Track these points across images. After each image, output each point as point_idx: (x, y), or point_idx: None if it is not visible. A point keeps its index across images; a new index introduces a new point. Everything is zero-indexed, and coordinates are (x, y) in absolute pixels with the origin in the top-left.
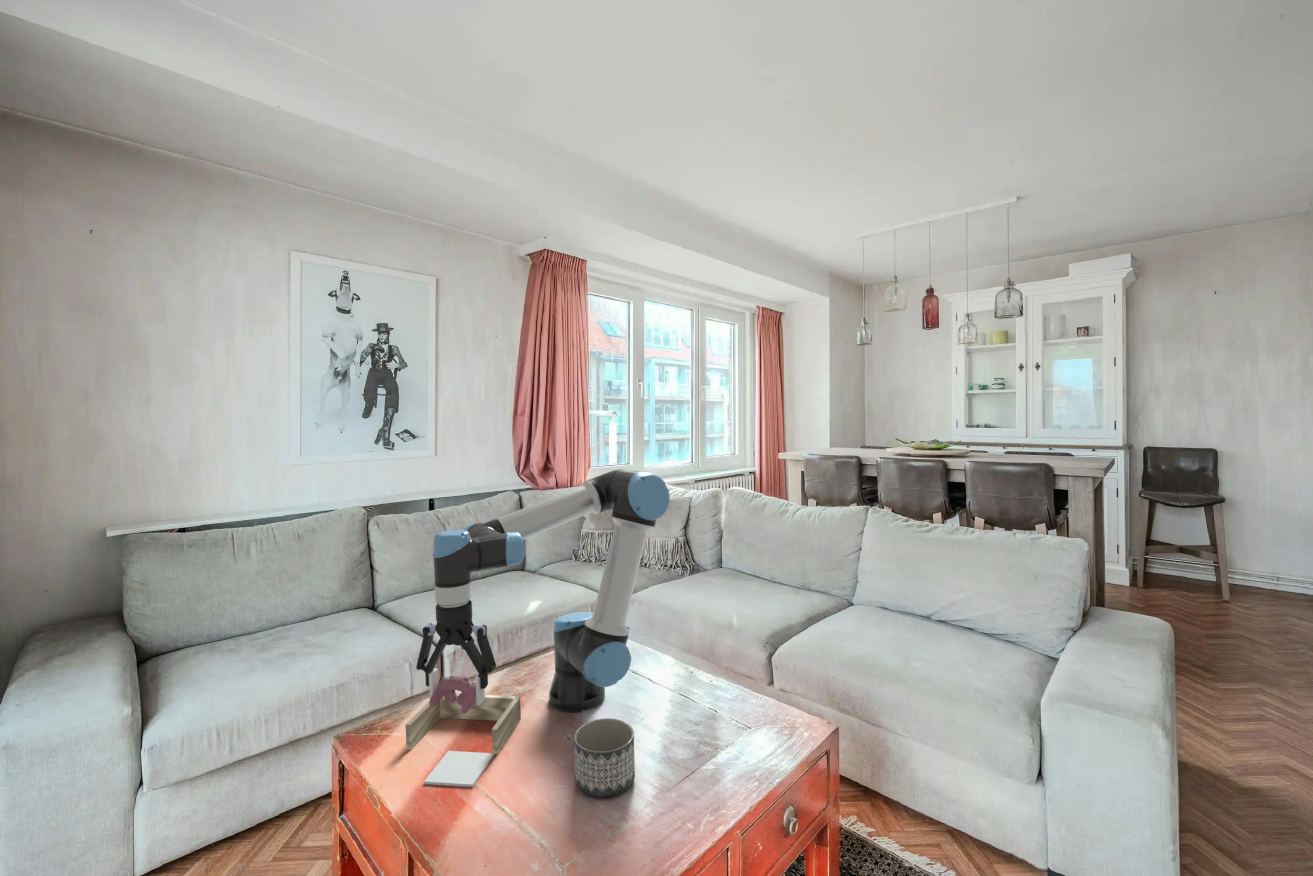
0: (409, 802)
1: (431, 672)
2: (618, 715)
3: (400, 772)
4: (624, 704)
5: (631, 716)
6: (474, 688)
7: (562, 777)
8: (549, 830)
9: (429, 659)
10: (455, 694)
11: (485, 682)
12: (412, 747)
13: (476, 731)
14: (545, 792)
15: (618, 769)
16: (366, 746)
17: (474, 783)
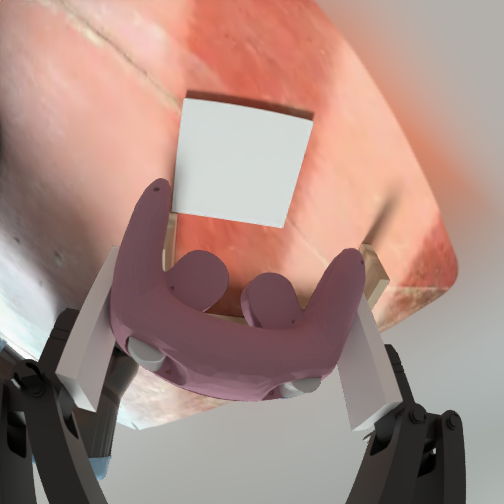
0: (328, 61)
1: (387, 411)
2: (23, 300)
3: (372, 172)
4: (31, 321)
5: (9, 295)
6: (110, 314)
7: (23, 142)
8: (18, 8)
9: (415, 482)
10: (245, 312)
11: (51, 336)
12: (360, 248)
13: (240, 288)
14: (36, 95)
15: None
16: (432, 259)
17: (183, 105)
